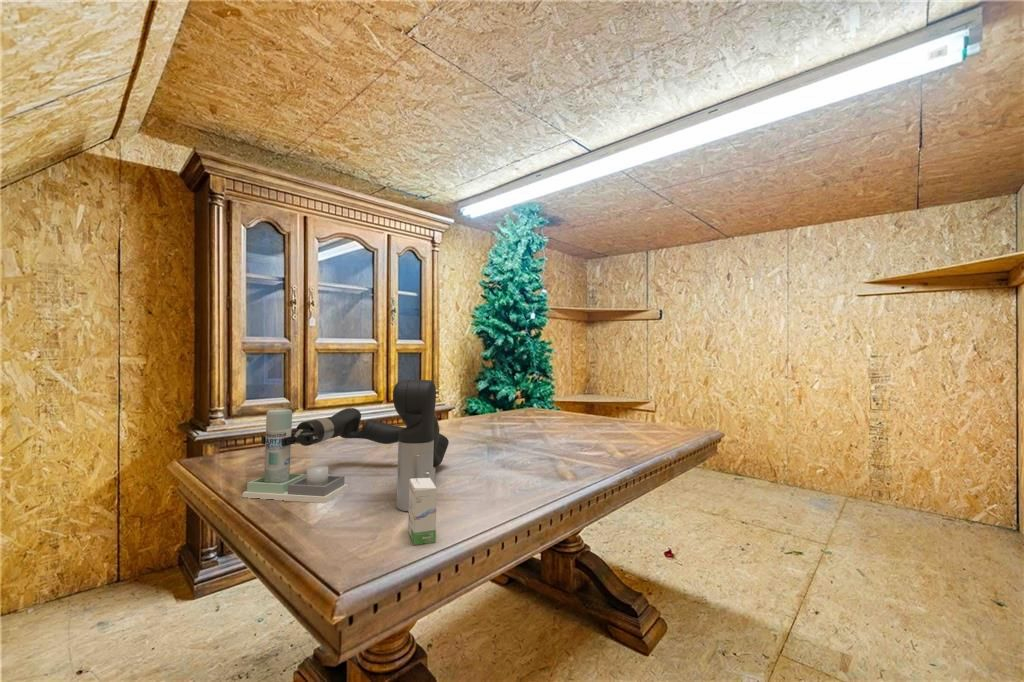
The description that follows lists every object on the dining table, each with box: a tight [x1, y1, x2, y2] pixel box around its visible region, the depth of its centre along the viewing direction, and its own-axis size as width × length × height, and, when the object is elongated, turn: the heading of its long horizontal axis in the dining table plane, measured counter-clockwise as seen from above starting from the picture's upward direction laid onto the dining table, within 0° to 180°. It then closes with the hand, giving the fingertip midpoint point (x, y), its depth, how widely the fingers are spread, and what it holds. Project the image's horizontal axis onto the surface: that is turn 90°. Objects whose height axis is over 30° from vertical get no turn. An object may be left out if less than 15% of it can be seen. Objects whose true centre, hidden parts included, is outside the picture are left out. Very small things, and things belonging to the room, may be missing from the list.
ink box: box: [407, 478, 438, 546], centre depth 95 cm, size 8×5×12 cm, turn 21°
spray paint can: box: [263, 408, 293, 484], centre depth 123 cm, size 6×6×20 cm
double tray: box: [242, 465, 349, 504], centre depth 122 cm, size 24×12×8 cm, turn 83°
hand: (272, 441), depth 121 cm, fingers closed on spray paint can, 6 cm apart
